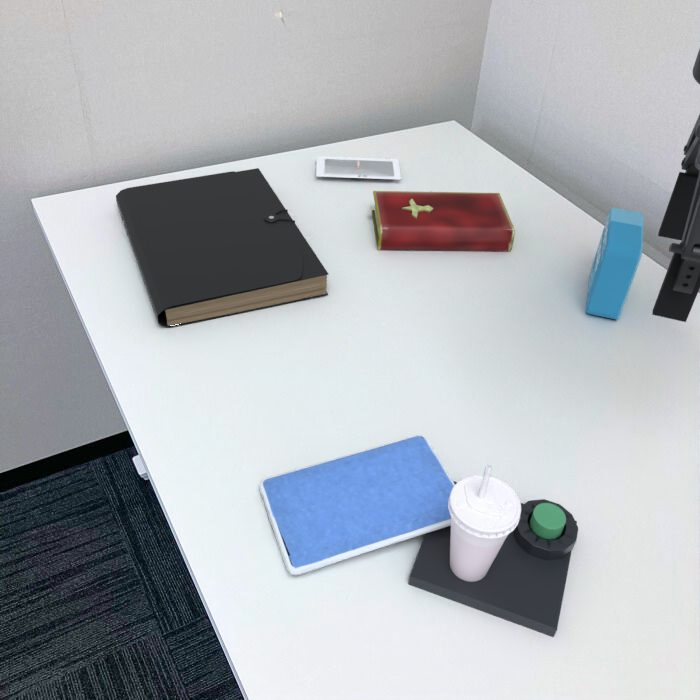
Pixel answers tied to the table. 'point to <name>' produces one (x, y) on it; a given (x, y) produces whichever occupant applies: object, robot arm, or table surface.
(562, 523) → the button
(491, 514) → the smoothie
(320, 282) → the black photo album
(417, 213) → the hardcover book
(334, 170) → the white picture frame
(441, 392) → the table surface
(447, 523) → the tablet
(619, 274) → the data package
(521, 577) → the black button base
